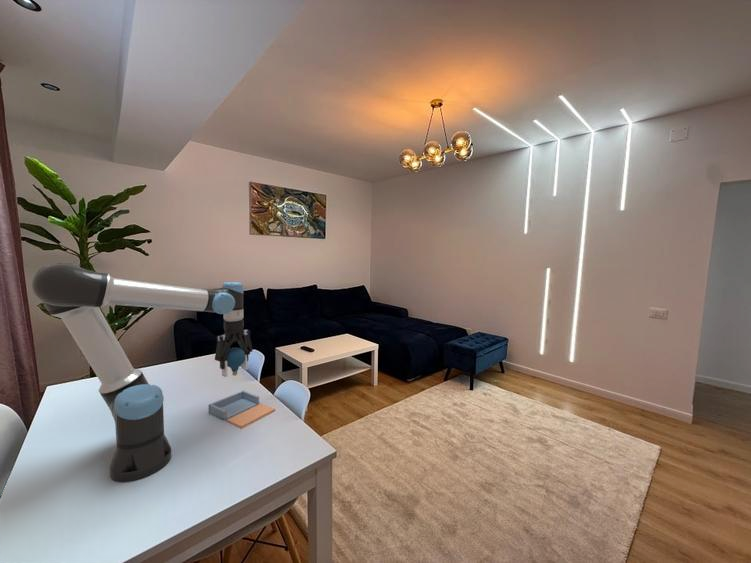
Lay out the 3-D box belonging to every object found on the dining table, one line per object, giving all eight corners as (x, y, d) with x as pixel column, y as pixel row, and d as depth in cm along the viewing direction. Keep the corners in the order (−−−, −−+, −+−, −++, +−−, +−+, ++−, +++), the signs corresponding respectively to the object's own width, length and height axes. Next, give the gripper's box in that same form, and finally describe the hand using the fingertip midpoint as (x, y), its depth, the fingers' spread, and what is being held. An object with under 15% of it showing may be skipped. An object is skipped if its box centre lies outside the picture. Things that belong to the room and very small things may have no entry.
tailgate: (225, 422, 118) (241, 429, 113) (225, 419, 118) (241, 426, 113) (259, 405, 132) (275, 411, 126) (259, 402, 132) (275, 408, 126)
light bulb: (240, 379, 122) (239, 351, 122) (219, 379, 123) (219, 350, 122) (249, 372, 131) (248, 345, 130) (230, 371, 131) (229, 344, 130)
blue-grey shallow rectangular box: (224, 421, 118) (224, 412, 118) (208, 413, 124) (208, 404, 124) (259, 405, 132) (259, 396, 132) (243, 398, 138) (243, 390, 137)
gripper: (214, 325, 114) (215, 383, 116) (261, 316, 132) (261, 366, 134) (203, 322, 118) (204, 379, 120) (250, 314, 136) (251, 363, 138)
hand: (234, 372), depth 127 cm, fingers closed on light bulb, 8 cm apart
